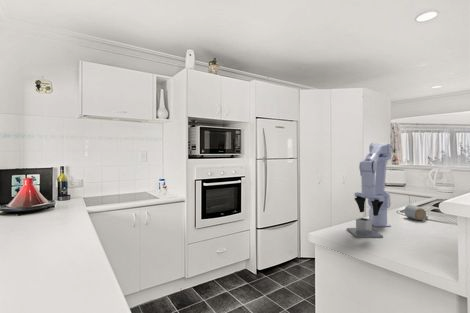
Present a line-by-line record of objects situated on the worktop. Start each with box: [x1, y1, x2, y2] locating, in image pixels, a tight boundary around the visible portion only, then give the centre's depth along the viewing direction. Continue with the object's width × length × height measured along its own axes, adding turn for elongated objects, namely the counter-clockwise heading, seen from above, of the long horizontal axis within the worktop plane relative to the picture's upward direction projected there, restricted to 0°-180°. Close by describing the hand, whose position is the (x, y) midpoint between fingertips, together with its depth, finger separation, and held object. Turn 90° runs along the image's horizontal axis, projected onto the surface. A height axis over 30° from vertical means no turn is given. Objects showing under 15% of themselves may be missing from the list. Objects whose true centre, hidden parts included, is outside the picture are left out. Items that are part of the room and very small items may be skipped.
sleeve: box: [355, 217, 373, 234], centre depth 125 cm, size 5×5×6 cm
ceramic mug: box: [403, 203, 429, 221], centre depth 146 cm, size 11×8×8 cm
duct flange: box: [346, 227, 384, 239], centre depth 124 cm, size 12×12×5 cm
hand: (368, 213), depth 123 cm, fingers open, 7 cm apart
